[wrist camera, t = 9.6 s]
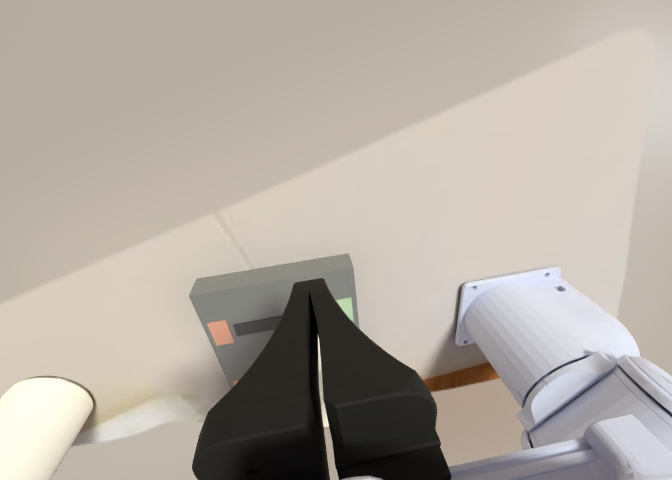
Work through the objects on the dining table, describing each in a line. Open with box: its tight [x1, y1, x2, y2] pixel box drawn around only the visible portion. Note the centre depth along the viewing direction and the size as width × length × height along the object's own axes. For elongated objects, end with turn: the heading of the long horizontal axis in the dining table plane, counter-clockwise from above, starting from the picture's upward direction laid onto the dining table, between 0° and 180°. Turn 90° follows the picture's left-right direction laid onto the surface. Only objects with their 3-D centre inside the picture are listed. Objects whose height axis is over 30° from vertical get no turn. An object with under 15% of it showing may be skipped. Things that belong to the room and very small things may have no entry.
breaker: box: [319, 371, 329, 427], centre depth 25 cm, size 2×3×4 cm, turn 7°
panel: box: [189, 254, 359, 388], centre depth 26 cm, size 12×15×2 cm
